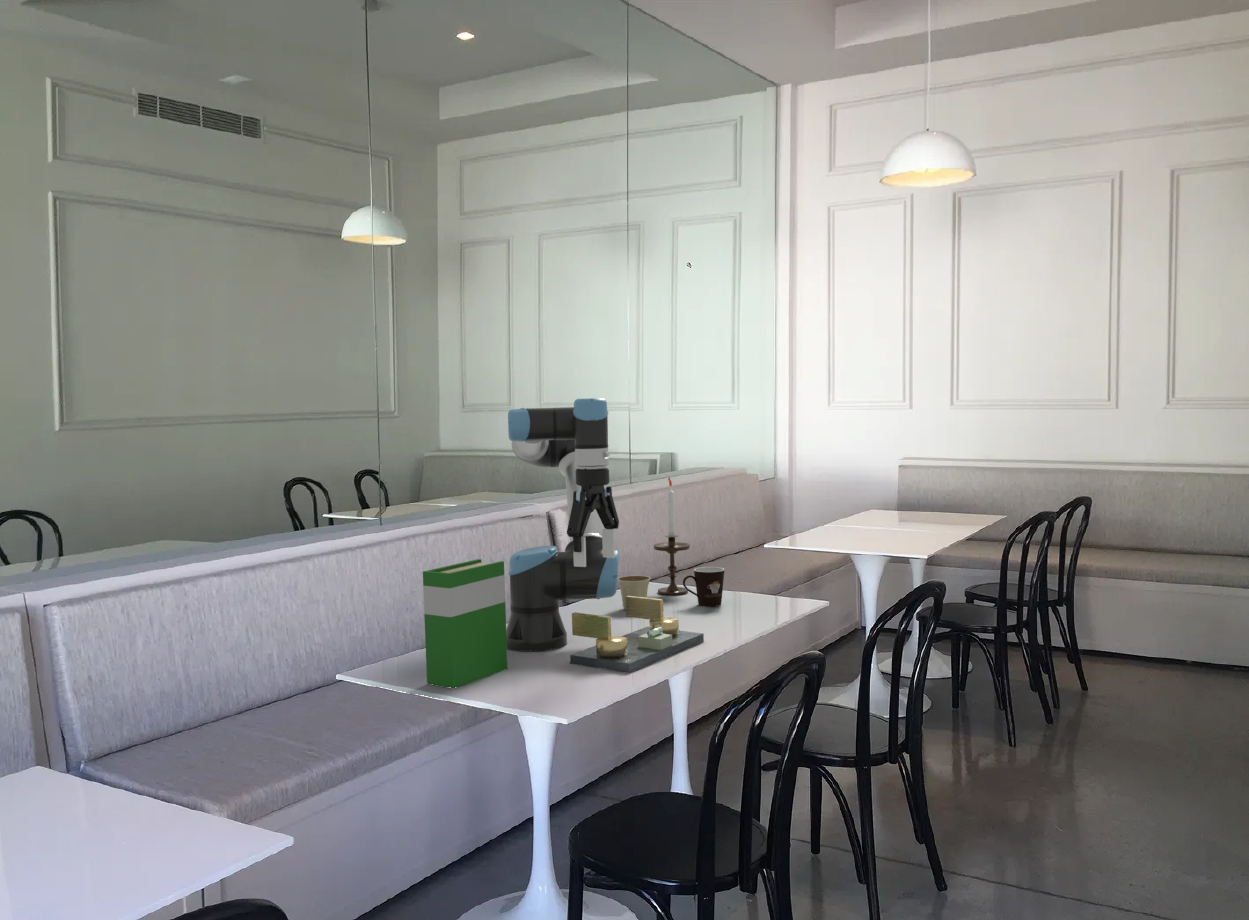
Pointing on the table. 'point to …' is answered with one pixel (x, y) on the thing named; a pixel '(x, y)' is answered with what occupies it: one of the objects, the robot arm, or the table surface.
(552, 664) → the table surface
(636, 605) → the far knob
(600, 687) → the table surface
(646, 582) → the flower pot
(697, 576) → the coffee mug
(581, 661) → the level plate
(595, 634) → the near knob
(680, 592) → the candlestick
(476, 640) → the hardback book
